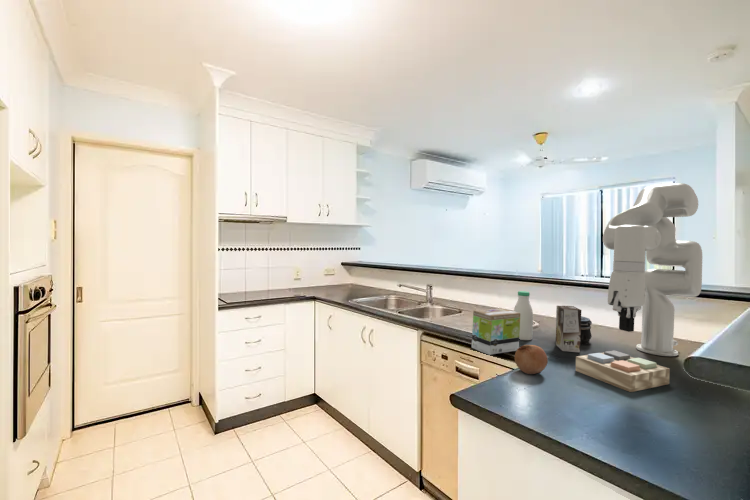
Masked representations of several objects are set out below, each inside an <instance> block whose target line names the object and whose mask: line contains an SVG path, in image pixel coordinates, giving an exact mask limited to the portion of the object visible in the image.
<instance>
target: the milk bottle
mask: <svg viewBox="0 0 750 500" xmlns="http://www.w3.org/2000/svg"><path fill="white" fill-rule="evenodd" d="M530 295H531V294H530V292H529V291H525V290H521V291H520V290H519V291H518V292H517V297H518V298H517V302H516V303H515V305H514V307H513V311H514V312H518V313H520V332H519V339H520V340H519V341H531V340H532V339H533V332H534V331H533V328H534V323H533V321H534V311H533V308H532V307H533V306H532V304H531V303H530Z"/></svg>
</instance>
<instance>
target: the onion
mask: <svg viewBox="0 0 750 500" xmlns="http://www.w3.org/2000/svg"><path fill="white" fill-rule="evenodd" d="M548 359H549V358H548V356H547V353H546V352H545V350H544V349H543V347H540V346H538V345H535V344H524V345H521V346H520V345H519V348H518V349H517V351H515V354H514V363H515V365H516V367H517V368H518V369H519V370H520V371H521V372H522V373H524V374H527V375H535V374H536V375H537V374H540V373H542V372H543V371H544V370H545V368H546V367H547V366H548V364H549V363H548V361H549V360H548Z"/></svg>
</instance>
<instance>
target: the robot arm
mask: <svg viewBox="0 0 750 500" xmlns="http://www.w3.org/2000/svg"><path fill="white" fill-rule="evenodd" d="M698 209H699V199H698V196H697V193H696V192H695V190H694V189H693V187H692V186H691V185H689V184H687V183H683V182H682V183H681V182H679V183H666V184H654V185H650V186H646V187H644V188H642V189H641V190H640V191H639V193H638V195H637V197H636V199H635V201H634V203H633V206H632V207H630V208H628V209H626V210H624V211H622V212H621V211H620V213H617V214H616V215H614V216H613V217H611V218H610V220H609V221H608V223H607V224H606V227H605V229H604V231H603V234H602V235H603V236H602V242H603V243H602V244H603V245H604V246H605V247H606V249H608V250H612V251H613V263H612V268H613V269H612V272H611V274H610V277H609V283H608V291H607V304H608V305H610V306H612V310H613V312H617V316H618V319H619V322H618V329H619V330H620V331H624V332H628V333H630V332H631V333H632V332H634V330H635V318H636V316H637V312H638V311H641V310H642V312H641V313H642V315H641V316H642V318H641V339H640V340H641V342H640V343H638V344H636V346H635V348H636V350H637V351H640V352H643V353H646V354H650V355H655V356H661V357H676V356H678V355H679V351H678V350H676V349H675V348H674V346H678V345H679V342H678V341H677V340H675V339H674V333H675V332H674V331H675V330H674V328H675V306H674V304H673V302H672V301H671V300H670V299H669V298H668V297H667V296H675V297H684V298H685V297H686V298H695V297H698V296H699V295H700V294H701V292H702V284H703V250H702V246H701V244H700V243H698V242H697V241H693V240H677V239H676V225H675V224H674V223H673V222H672V221H671V220H670V219H669V218H681V217H682V218H684V217H692V216H694V215H695V214H696V213H697V211H698ZM646 261H647V262H648V264H651V265H653V266H661V267H662V266H663V267H680V268H683V269H684V270H678V269H666V268H664V269H663V268H649V269H646Z"/></svg>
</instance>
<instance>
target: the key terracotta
mask: <svg viewBox="0 0 750 500" xmlns="http://www.w3.org/2000/svg"><path fill="white" fill-rule="evenodd" d="M611 367H614V368H617V369H620V370H623V371H626V372H635V371H640V366H639V365H636V364H633V363H630V362H627V361H623V360H620V361H614V362H611Z"/></svg>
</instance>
